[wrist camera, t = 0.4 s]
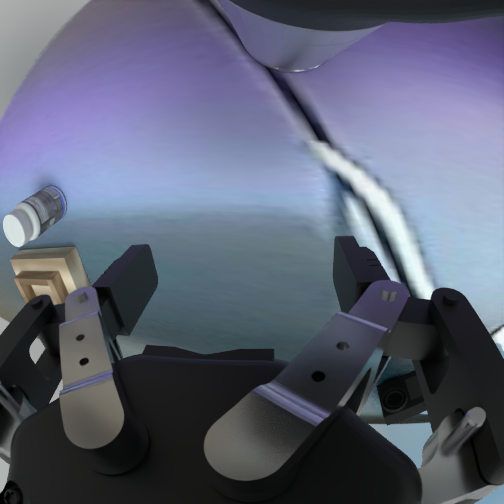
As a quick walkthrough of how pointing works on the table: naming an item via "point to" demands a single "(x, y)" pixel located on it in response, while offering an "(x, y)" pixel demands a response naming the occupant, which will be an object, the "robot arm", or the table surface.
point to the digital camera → (401, 398)
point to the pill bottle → (34, 216)
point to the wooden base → (49, 272)
